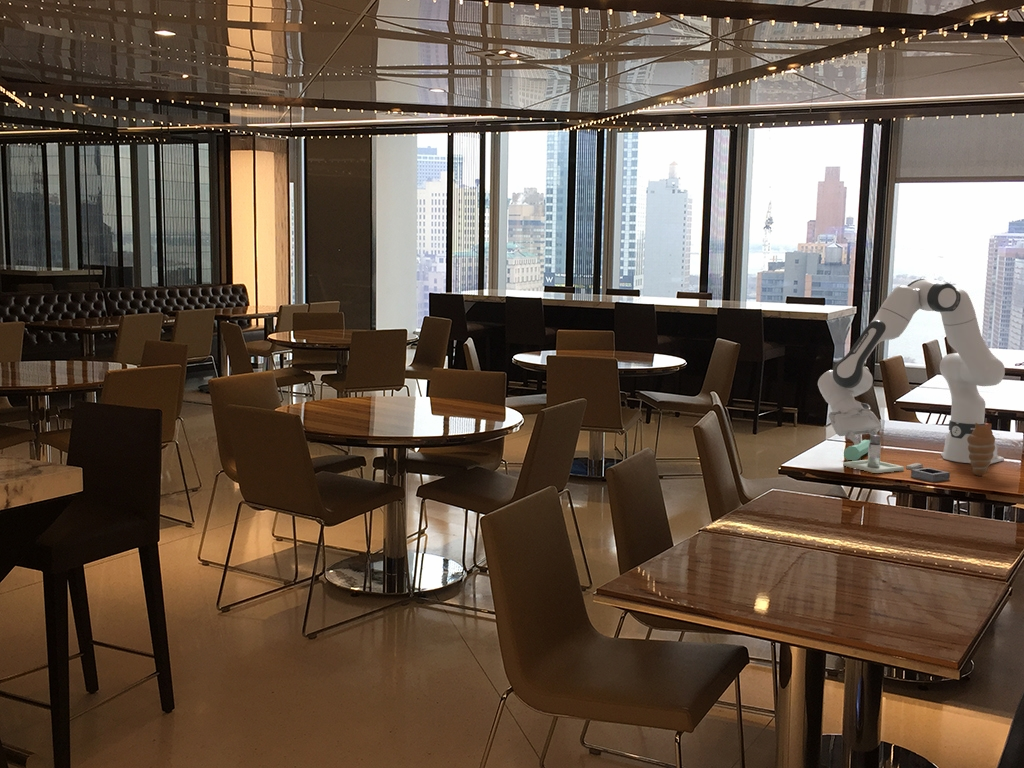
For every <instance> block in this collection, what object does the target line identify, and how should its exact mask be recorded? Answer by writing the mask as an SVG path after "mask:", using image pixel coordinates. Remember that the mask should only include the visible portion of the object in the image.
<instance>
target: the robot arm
mask: <svg viewBox="0 0 1024 768" xmlns="http://www.w3.org/2000/svg"><path fill="white" fill-rule="evenodd" d="M919 310H922V311H926V312H931V311H932V312H938V313H939V314H940V315H941V319H942V320H941V321H942V324H943V328H944V333H945V337H946V340H947V344H948V345H949V347H951V348H952V349H953V350H954V351H956V352H953V353H948V354H946V355H944V357H942V359H941V360H940V363H939V371H940V374H941V376H942V377H943V378H944V380H945V381H946V383H947V385H948V388H949V393H950V398H951V407H950V408H951V410H950V411H951V412H950V420H949V421H948V430H949V431H948V433H947V434H946V436H945V441H944V447H943V451H942V452H940V453H941V454H940V456H941V457H942V458H943V459H944V460H946V461H950V462H956V463H964V464H971V460H970V459H969V454H970V452H969V450H968V445H969V443H968V441H967V438H968V436H969V435H971V434H972V432H973V430H974V429H975V423H977V424H979V425H985V426H986V425H987V424H988V423H985V416H986V415H985V414H986V401H985V399H984V397H982V396H981V394H980V392H979V390H978V387H991V386H992V387H993V386H997V385H999V384H1000V383H1001V382H1002V381H1003V380H1004V378H1005V373H1006V369H1005V364H1003V361H1001V360H1000V359H998V358H997V356H995V355H994V354H993V353H992V351H991V350H990V349H989V347H988V345H987V344H986V342H985V340H984V338H983V336H982V333H981V330H980V327H979V323H978V318H977V315H976V310H975V307H974V305H973V302H972V300H971V298H970V296H969V294H968V293H967V291H966V290H964V289H959V288H956V286H954V285H953V284H951V283H950V282H947V281H942V280H938V279H925V278H920V279H915V280H913V281H911V282H910V283H908V284H907V285H899V286H896V287H895V288H894V289H893V290H892V291H891V292H890V294H888V296H887V297H886V299H884V301H883V302H882V304H881V306H880V307H879V309H878V311H877V313H876V314H875V316H874V317H873V319H872V320H871V321H870V322H869V324H868V325H867V326H866V327H865V329H864V330H863V331H862V333H861V334H860V336H859V337H858V338H857V340H856V342H855V343H854V344H853V345H852V347H851V348H850V350H849V351H848V353H847V354H845V355H844V357H842V358H841V359H840V360H838V361H837V363H836V364H835V365H834V367H833V368H832V369H830V370H827V371H826V372H824V373H823V374H821V375H820V376H819V378H818V380H817V386H818V389H819V393H820V394H821V395H822V397H823V399H824V401H825V402H826V403H827V404H828V405H829V407H830V410H831V411H830V412H829V414H828V418H829V420H830V425H831V426H832V428H833V431H834V432H835V434H836V435H837V436H839V437H845V436H846V437H847V439H848V440H850V441H852V443H853V445H859V444H860V443H861V441H862V440H860V438H859V437H858V438H857V437H856V436H857V435H867V434H869V436H870V435H878V432H879V431H880V430H881V429H882V423H881V422H880V420H879V418H878V417H877V416H876V414H875V413H874V412H873V411H872V410H871V409H872V408H871V405H869V404H868V403H864V402H860V401H858V400H856V397H859V396H860V395H863V394H865V393H866V392H868V391H870V389H871V388H872V386H873V385H874V377H873V375H872V374H873V373H871V372H870V371H869V370H868V369H867V368H865V367H864V366H865V362H866V361H867V359H868V358H870V355H871V354H872V353H873V351H874V349H875V348H876V347H877V345H879V343H880V344H881V342H884V341H891V340H895V339H897V338H899V337H900V336H901V335H902V334H903V333H904V331H906V328H907V327H908V326H909V324H910V323H911V320H912V318H913V317H914V315H915V314H916V312H917V311H919ZM994 445H995V450H994V452H993V458H992V459H991V463H990V465H992V464H995V463H998V462H1003V461H1005V458H1004V457H1003V456H1000V455H998V443H996V442H995V443H994Z"/></svg>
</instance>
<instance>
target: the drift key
mask: <svg viewBox="0 0 1024 768" xmlns="http://www.w3.org/2000/svg"><path fill="white" fill-rule="evenodd" d="M906 468H907V469H906ZM921 468H924V464H923V463H919V462H915V463H914V462H913V463H911V464H910V463H909V464H907V465H906V466H905V469H906V470H910V469H911V470H913V469H921ZM911 470H910V471H911Z"/></svg>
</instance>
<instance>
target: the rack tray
mask: <svg viewBox="0 0 1024 768" xmlns="http://www.w3.org/2000/svg"><path fill="white" fill-rule="evenodd" d="M842 462H843V463H842V467H843V466H846V467H845V468H847V467H850V468H849V469H851V468H856V469H860V470H864V471H869V472H873V473H882V472H891V473H895V472H894V471H899V472H904V470H905V466H904V465H903V466H902V465H900V464H895V463H894V464H893V463H890V462H885V461H881V460H880V468H869V467H867V463H868V459H862V460H861V459H858V460H856V461H842ZM860 470H859V471H860ZM864 471H863V472H864Z"/></svg>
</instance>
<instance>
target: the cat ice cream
mask: <svg viewBox="0 0 1024 768" xmlns="http://www.w3.org/2000/svg"><path fill="white" fill-rule="evenodd" d="M967 441H968V443H969V445H968V450H969V452H970V454H969V459H970V460H971V463H970V466H971V468H972V473H973V474H974V475H976V476H978V477H981V476H985V475H986V473H987V472H988V467H989V466H990V465H991V464H992V463H991V459H992V458H993V452H994V450H995V445H994V443H996V438H995V435H994V434H993V430H992V423H987V425H986V426H985V425H979V424H977V423H975V429H974V430H973V432H972V434H971V435H969V436H968V438H967ZM990 463H991V464H990Z"/></svg>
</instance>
